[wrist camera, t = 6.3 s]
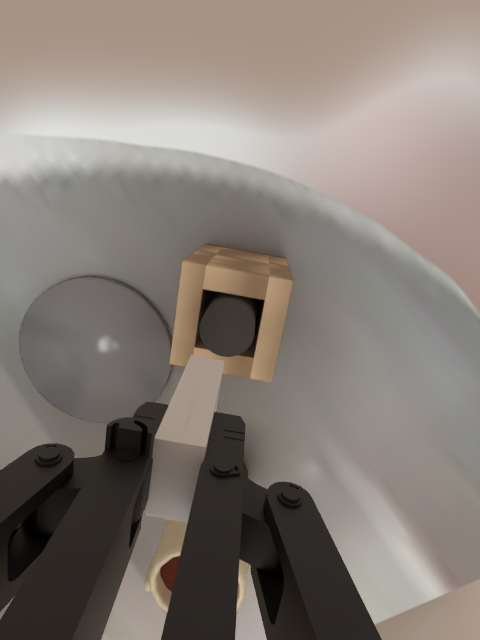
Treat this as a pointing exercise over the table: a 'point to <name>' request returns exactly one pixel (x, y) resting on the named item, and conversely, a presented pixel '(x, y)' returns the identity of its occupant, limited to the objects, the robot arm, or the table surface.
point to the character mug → (167, 563)
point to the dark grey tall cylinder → (229, 324)
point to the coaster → (95, 348)
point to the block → (239, 279)
